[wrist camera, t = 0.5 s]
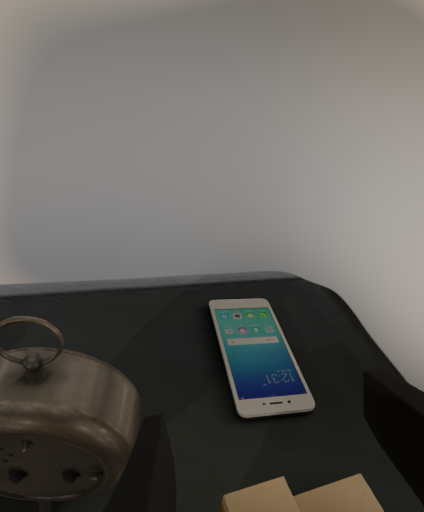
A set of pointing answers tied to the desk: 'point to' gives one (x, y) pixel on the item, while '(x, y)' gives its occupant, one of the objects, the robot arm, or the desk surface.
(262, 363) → the smartphone
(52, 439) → the alarm clock
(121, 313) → the desk surface
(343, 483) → the step shelf
